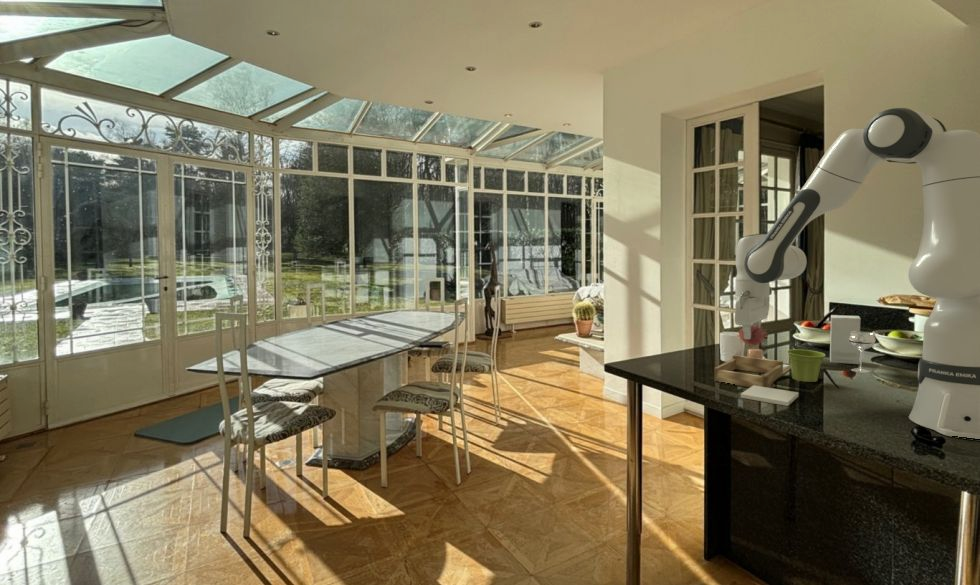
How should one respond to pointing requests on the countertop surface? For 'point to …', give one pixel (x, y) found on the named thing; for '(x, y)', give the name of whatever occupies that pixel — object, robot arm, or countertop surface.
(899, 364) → the countertop surface
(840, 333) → the skincare box
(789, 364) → the lid
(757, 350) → the tan rounded block
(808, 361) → the plant pot
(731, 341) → the white cup
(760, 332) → the flower
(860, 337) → the wineglass
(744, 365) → the open wooden box
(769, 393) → the tile
